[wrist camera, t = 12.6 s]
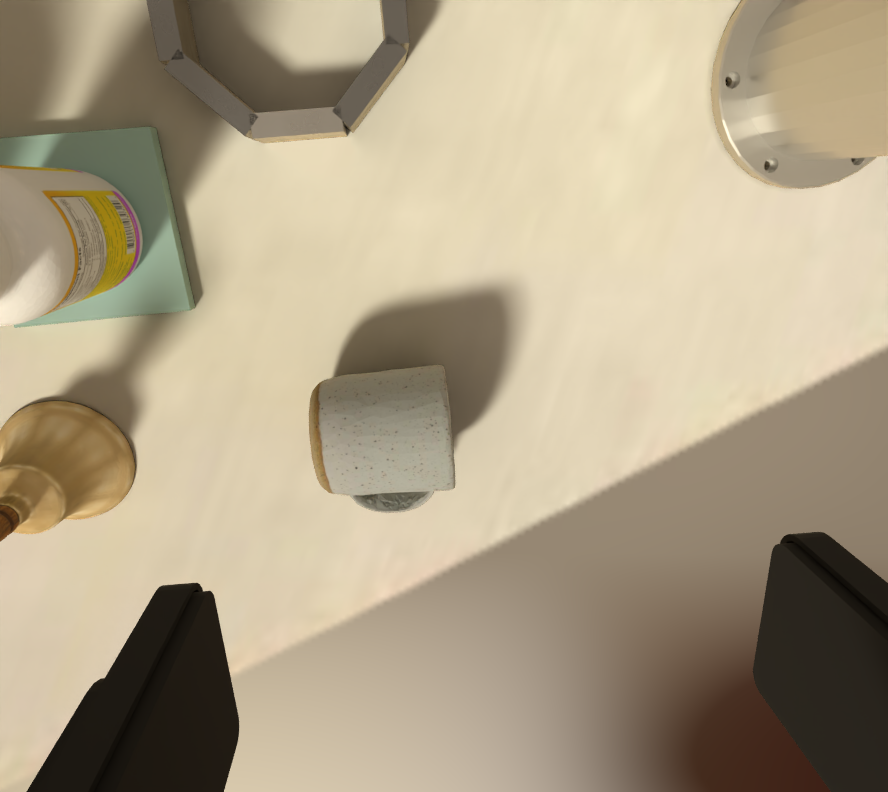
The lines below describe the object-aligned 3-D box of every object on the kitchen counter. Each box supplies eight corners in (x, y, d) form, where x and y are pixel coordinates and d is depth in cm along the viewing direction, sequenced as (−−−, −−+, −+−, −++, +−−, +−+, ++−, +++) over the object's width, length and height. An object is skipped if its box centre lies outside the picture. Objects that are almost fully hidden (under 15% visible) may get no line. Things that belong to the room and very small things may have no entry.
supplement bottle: (-2, 244, 34) (-217, 274, 21) (55, 142, 32) (-141, 113, 20) (112, 315, 35) (-29, 379, 23) (170, 221, 34) (53, 237, 22)
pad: (156, 128, 33) (149, 126, 32) (195, 307, 37) (190, 310, 36) (-33, 143, 33) (-45, 141, 32) (24, 324, 36) (14, 327, 35)
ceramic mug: (313, 364, 39) (297, 406, 31) (440, 349, 39) (453, 387, 32) (339, 509, 42) (330, 576, 35) (455, 493, 43) (470, 557, 35)
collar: (389, -134, 31) (390, -168, 28) (414, 131, 35) (416, 125, 32) (139, -121, 30) (114, -154, 27) (194, 148, 34) (177, 144, 31)
